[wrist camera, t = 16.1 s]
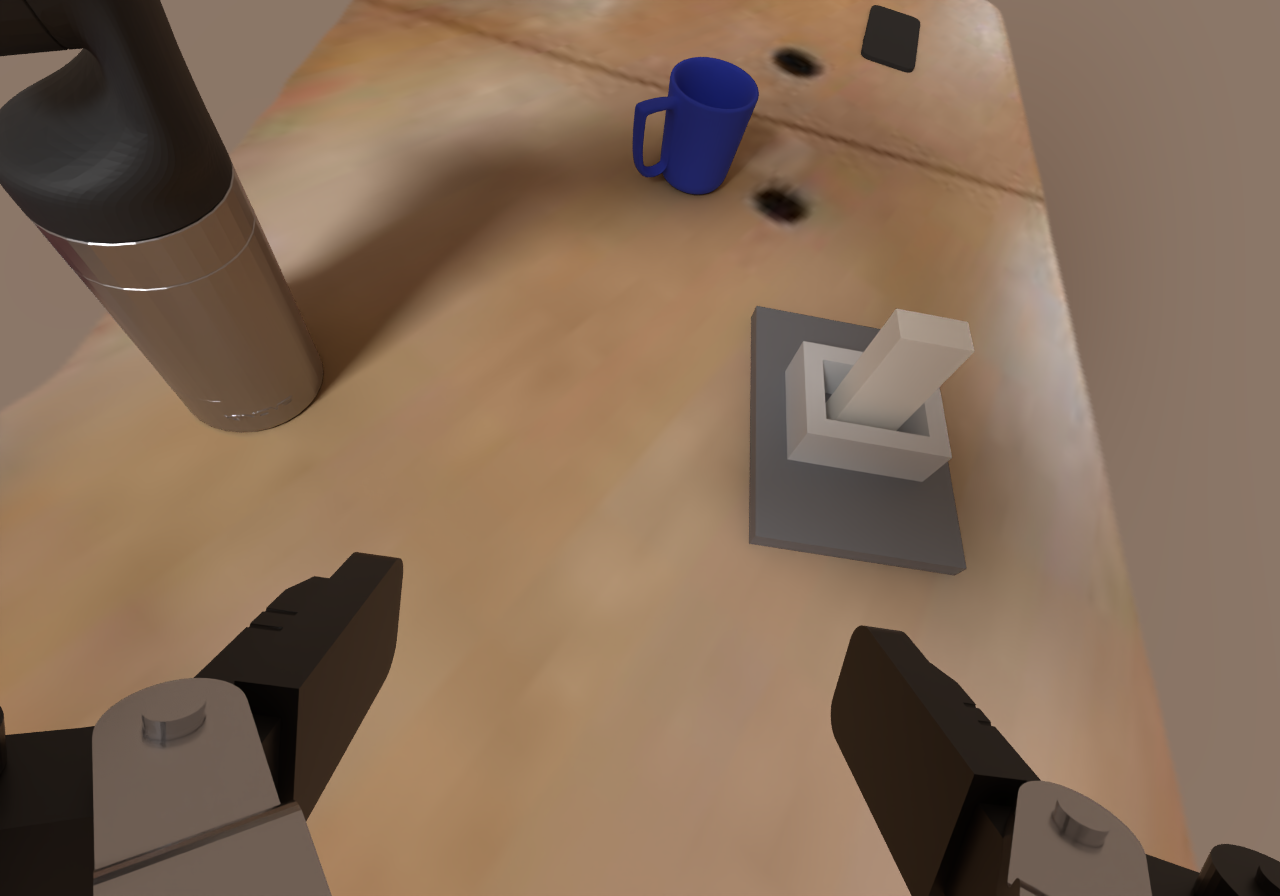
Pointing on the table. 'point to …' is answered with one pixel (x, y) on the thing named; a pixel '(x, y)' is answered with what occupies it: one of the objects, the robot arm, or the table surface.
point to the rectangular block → (900, 369)
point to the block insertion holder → (842, 456)
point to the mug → (698, 123)
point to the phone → (891, 39)
